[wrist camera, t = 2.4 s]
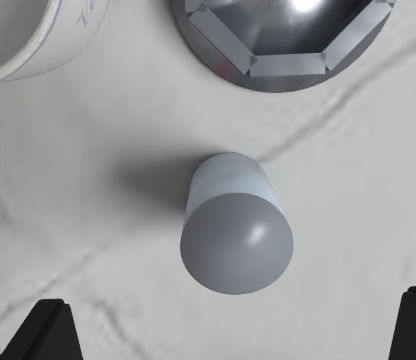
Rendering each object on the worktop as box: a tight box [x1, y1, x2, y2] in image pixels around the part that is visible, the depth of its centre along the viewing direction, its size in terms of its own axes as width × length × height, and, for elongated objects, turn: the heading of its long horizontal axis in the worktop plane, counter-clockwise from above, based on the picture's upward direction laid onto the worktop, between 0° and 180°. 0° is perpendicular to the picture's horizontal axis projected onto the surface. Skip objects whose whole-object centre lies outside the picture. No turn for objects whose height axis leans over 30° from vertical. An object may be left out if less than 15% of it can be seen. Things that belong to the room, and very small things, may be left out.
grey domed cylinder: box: [180, 152, 293, 295], centre depth 18 cm, size 5×5×7 cm
